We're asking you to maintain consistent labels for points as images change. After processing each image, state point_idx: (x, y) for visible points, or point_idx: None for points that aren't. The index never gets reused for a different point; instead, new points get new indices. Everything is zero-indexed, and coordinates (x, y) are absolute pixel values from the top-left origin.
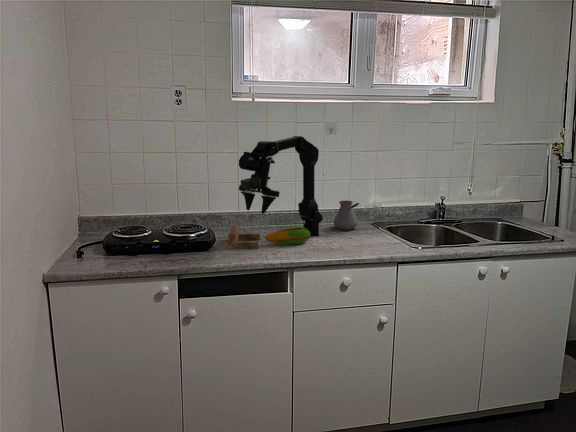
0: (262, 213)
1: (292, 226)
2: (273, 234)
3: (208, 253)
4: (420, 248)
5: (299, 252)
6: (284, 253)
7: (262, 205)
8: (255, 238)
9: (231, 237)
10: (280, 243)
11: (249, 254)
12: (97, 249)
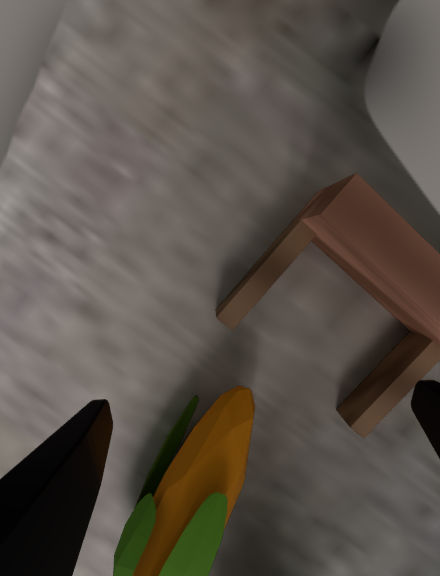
0: (93, 402)
1: None
2: (212, 435)
3: (316, 50)
4: None
5: (36, 418)
6: (66, 354)
7: (20, 499)
8: (354, 398)
9: (331, 194)
10: (176, 424)
11: (160, 211)
12: None
